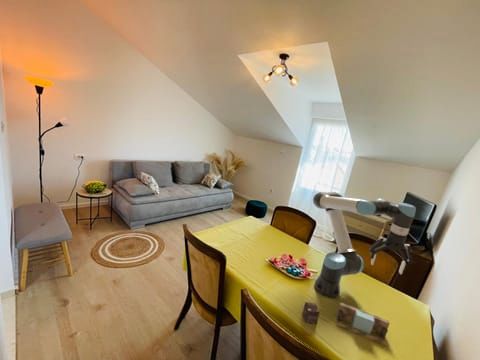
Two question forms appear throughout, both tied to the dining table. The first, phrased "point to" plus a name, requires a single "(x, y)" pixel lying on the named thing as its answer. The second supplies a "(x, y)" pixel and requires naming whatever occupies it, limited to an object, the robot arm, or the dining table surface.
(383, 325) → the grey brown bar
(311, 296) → the dining table surface
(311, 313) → the box
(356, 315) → the pale grey block
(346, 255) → the robot arm
